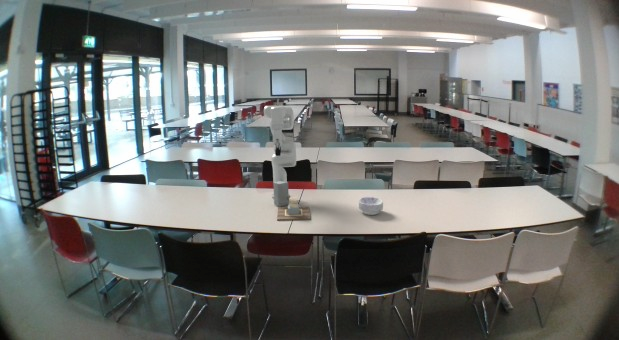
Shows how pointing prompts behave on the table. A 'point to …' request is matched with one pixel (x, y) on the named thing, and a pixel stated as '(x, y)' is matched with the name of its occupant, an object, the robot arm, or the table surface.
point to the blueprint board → (282, 212)
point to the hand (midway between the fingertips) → (278, 154)
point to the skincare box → (281, 193)
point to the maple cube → (293, 203)
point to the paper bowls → (370, 205)
